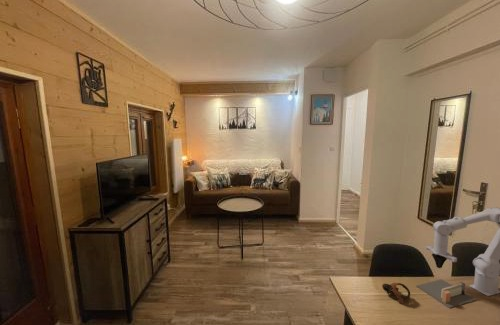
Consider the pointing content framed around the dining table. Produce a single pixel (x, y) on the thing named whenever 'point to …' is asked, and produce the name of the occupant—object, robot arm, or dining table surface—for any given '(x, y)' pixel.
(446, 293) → the block
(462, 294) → the gate post
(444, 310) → the dining table surface
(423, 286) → the mat
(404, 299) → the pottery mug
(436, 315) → the dining table surface
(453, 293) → the bar
